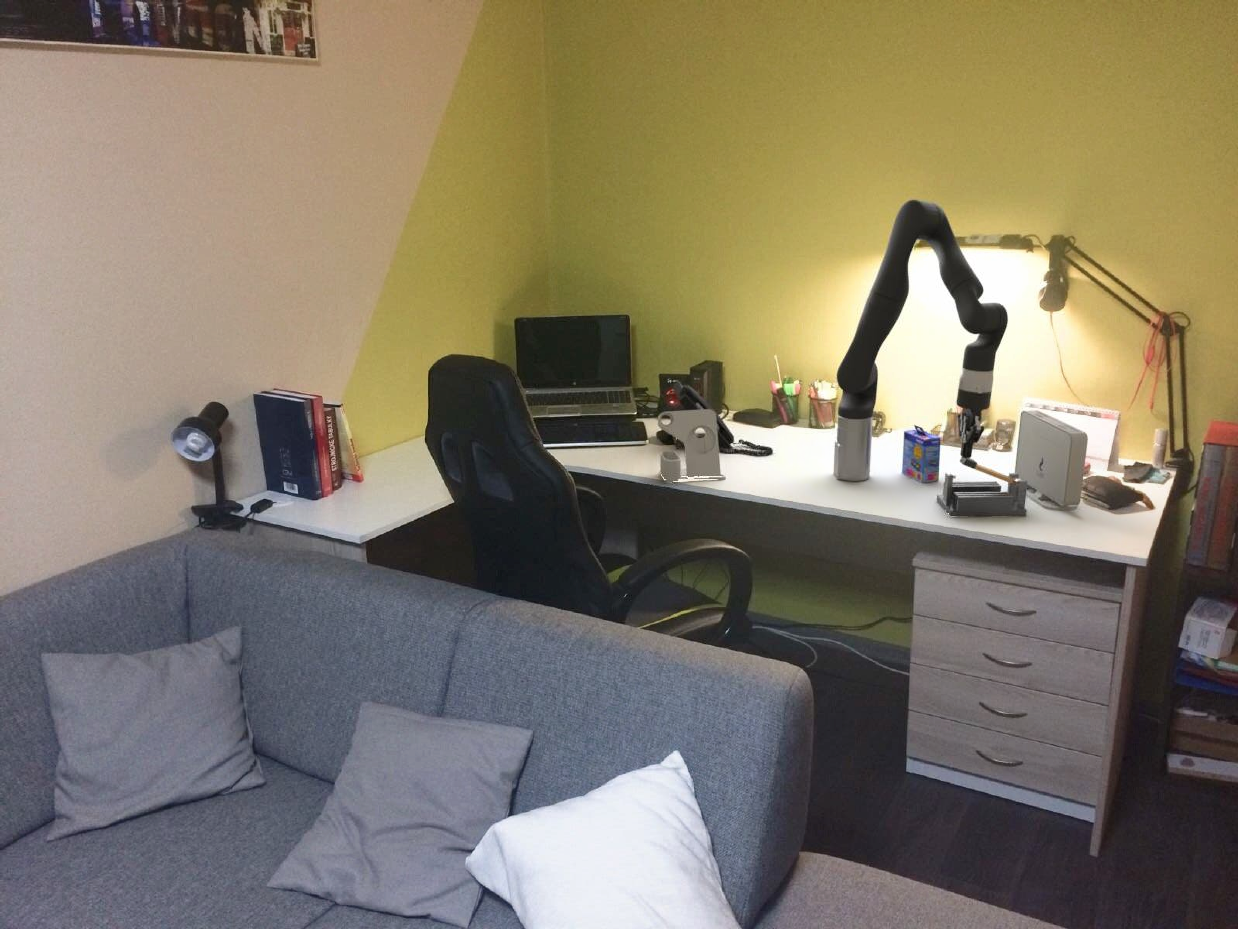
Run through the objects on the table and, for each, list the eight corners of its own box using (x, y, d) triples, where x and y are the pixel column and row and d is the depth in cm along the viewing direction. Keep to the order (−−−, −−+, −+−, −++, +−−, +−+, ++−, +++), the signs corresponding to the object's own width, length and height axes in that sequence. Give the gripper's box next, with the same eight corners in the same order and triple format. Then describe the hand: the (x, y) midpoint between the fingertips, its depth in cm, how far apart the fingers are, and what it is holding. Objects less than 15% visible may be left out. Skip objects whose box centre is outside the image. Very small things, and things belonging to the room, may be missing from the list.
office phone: (775, 456, 287) (776, 390, 281) (679, 460, 286) (679, 393, 280) (757, 431, 315) (758, 370, 309) (670, 434, 314) (669, 373, 308)
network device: (1005, 482, 258) (1012, 409, 253) (1037, 481, 259) (1045, 408, 253) (1054, 515, 234) (1064, 435, 228) (1089, 513, 235) (1099, 433, 229)
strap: (963, 466, 234) (966, 459, 234) (957, 462, 238) (961, 454, 238) (1022, 490, 236) (1026, 482, 235) (1016, 485, 240) (1020, 477, 239)
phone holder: (664, 483, 264) (664, 419, 259) (657, 472, 273) (657, 410, 268) (726, 479, 266) (727, 415, 261) (717, 469, 276) (718, 407, 270)
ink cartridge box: (900, 473, 268) (903, 422, 264) (917, 470, 270) (920, 420, 266) (921, 483, 259) (925, 431, 255) (939, 481, 261) (943, 428, 257)
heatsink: (950, 517, 234) (953, 481, 231) (936, 500, 246) (939, 466, 243) (1028, 516, 233) (1032, 480, 231) (1010, 500, 245) (1013, 466, 242)
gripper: (950, 380, 237) (942, 448, 242) (968, 393, 224) (958, 464, 230) (981, 381, 237) (972, 449, 242) (1000, 394, 224) (990, 465, 229)
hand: (965, 457), depth 236 cm, fingers closed
